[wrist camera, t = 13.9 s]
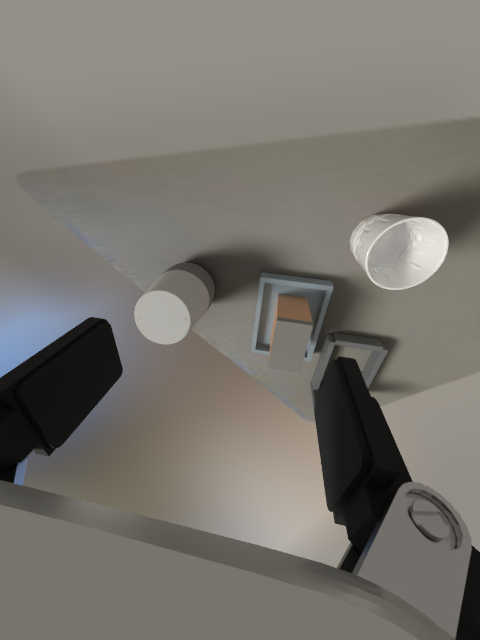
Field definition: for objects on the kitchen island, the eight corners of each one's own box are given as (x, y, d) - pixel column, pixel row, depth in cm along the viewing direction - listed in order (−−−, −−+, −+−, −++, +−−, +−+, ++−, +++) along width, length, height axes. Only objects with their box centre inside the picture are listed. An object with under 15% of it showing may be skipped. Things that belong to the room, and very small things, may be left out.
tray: (331, 280, 37) (333, 286, 35) (309, 353, 45) (310, 361, 43) (261, 272, 38) (260, 277, 36) (252, 344, 47) (250, 351, 44)
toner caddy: (307, 298, 39) (313, 325, 31) (296, 340, 43) (299, 373, 36) (278, 294, 39) (276, 320, 32) (270, 336, 44) (268, 367, 36)
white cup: (356, 205, 31) (383, 212, 23) (415, 212, 31) (466, 222, 22) (338, 260, 35) (355, 284, 27) (390, 268, 35) (424, 294, 26)
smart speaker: (214, 257, 39) (183, 289, 27) (221, 305, 43) (198, 351, 31) (163, 259, 40) (113, 290, 28) (175, 305, 45) (137, 348, 33)
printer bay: (384, 339, 41) (410, 379, 33) (357, 392, 48) (373, 435, 40) (328, 331, 42) (339, 368, 34) (310, 383, 49) (316, 424, 41)
